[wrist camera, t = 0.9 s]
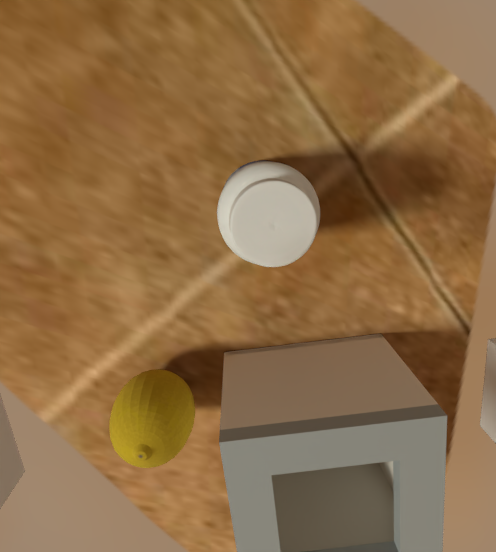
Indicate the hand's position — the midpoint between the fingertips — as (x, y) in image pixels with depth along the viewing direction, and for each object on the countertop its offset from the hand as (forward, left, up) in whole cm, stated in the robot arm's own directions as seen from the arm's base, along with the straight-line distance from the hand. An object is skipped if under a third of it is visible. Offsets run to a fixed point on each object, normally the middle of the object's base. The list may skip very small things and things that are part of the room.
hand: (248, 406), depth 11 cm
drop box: (+14, +4, -18) cm, 23 cm away
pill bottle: (-3, +2, -18) cm, 19 cm away
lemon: (+10, -7, -18) cm, 22 cm away
